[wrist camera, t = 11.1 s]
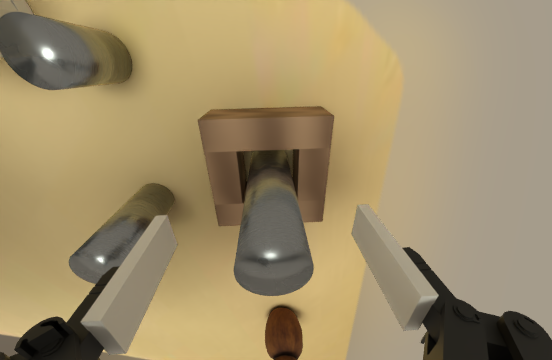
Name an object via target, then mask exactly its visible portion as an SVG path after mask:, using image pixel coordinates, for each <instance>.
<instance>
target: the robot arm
mask: <svg viewBox="0 0 552 360" xmlns="http://www.w3.org/2000/svg"><path fill="white" fill-rule="evenodd" d="M352 236H353V238H354V240H355V242H356V243H357V245H358V247H359V249H360V251H361V253H362V255H363V257H364V258H365V260H366V262H367V264H368V266H369V268H370V270H371V271H372V273H373V275H374V277H375V279H376V281H377V283H378V285H379V286H380V288H381V290H382V292H383V294H384V296H385V297H386V299H387V301H388V303H389V305H390V307H391V309H392V311H393V312H394V314H395V316H396V318H397V320H398V322H399V324H400V326H401V327H402V329H403V331H406V330H418V329H419V328H420V326H421V324H422V323H423V324H424V326H425V327H426V329H427V332H426V333H425V335H424V337H423V338H422V340H421V343H422V344H424V342H425V346H424V355H423V360H552V340H551V338H550V337H549V335H548V334H547V333H546V331H545V330H544V329H543V328H542V327H541V326H540V325H539V324H537V323H536V322H535V321H534V320H532V319H530V318H529V317H527V316H525V315H523V314H520V313H518V312H513V311H508V312H505V313H504V314H503V315H502V316H501V317H499V316H495V315H491V314H486V313H482V312H479V311H477V310H476V309H475V308H473V307H472V306H471V305H470V304H468V303H466V302H464V301H462V300H459V299H456V298H455V297H454V295H453V294H452V293H451V292H450V291H449V289H448V288H447V287H446V286H445V285H444V284H443V282H442V281H441V280H440V279H439V278H438V277H437V275H436V274H435V273H434V272H433V271H432V270H431V268H430V267H429V266H428V265H427V264H426V262H425V261H424V260H423V259H422V257H421V256H420V255H419V254H418V253H417V252H415V251H413V249H411V248H410V247H407V248H402V247H401V246H400V245H399V243H398V242H397V241H396V240H395V238H394V237H393V236H392V235H391V233H390V232H389V230H388V229H387V228H386V227H385V225H384V224H383V223H382V221H381V220H380V219H379V218H378V216H377V215H376V214H375V212H374V211H373V210H372V208H371V207H370V206H369V205H368V204H364V205H357V210H356V215H355V220H354V225H353V229H352ZM177 245H178V244H177V242H176V239H175V236H174V233H173V230H172V227H171V224H170V221H169V218H168V215H160V216H155V218H154V219H153V220H152V222H151V223H150V225H149V226H148V227H147V229H146V230H145V232H144V233H143V234H142V236H141V237H140V239H139V240H138V242H137V243H136V244H135V246H134V247H133V249H132V250H131V251H130V253H129V254H128V256H127V257H126V258H125V260H124V261H123V263H122V264H121V266H117V267H112V268H111V269H110V270H108V271H107V272H106V273H105V274H104V275H102V277H101V278H100V279H99V281H98V282H97V283H96V285H95V287H93V289H92V290H91V291H90V293H89V295H87V296H86V298H85V299H84V300H83V302H82V303H81V304H80V306H79V307H78V308H77V310H76V311H75V312H74V314H73V315H72V316H71V317H70V319H69V320H68V321H67V323H66V322H65V321H64V320H63V319H62V318H60V317H52V318H48V319H46V320H43V321H41V322H39V323H38V324H36V325H35V326H33V327H32V328H31V329H29V330H28V331H27V332H26V333H25V334H24V335H23V336H22V337H21V338H20V340H19V341H18V342H17V344H16V347H15V349H14V350H15V351H16V352H18V354H16V355H13V356H10V357H8V356H7V355H6V354H4V353H2V352H0V360H100V358H99V356H100V355H101V353H102V351H103V349H104V350H105V351H106V352H107V353H108V354H109V355H113V354H125V353H127V351H128V349H129V347H130V345H131V342H132V340H133V338H134V336H135V334H136V332H137V330H138V328H139V325H140V323H141V321H142V319H143V317H144V315H145V313H146V311H147V308H148V306H149V304H150V302H151V300H152V298H153V296H154V294H155V291H156V289H157V287H158V285H159V283H160V281H161V279H162V277H163V274H164V272H165V270H166V268H167V266H168V264H169V262H170V260H171V257H172V255H173V253H174V251H175V249H176V247H177Z"/></svg>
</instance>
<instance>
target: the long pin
mask: <svg viewBox="0 0 552 360" xmlns="http://www.w3.org/2000/svg"><path fill="white" fill-rule="evenodd" d="M312 274H313V261H312V257H311V253H310V249H309V245H308V241H307V237H306V233H305V229H304V224H303V220H302V216H301V212H300V208H299V204H298V200H297V196H296V192H295V187H294V183H293V179H292V175H291V171H290V167H289V163H288V159H287V155H286V152H285V150H259V151H253V152H252V156H251V162H250V169H249V175H248V181H247V188H246V194H245V201H244V207H243V214H242V220H241V227H240V233H239V239H238V246H237V252H236V259H235V265H234V275H235V278H236V280H237V282H238V283H239V284H240V285H241V286H242V287H243V288H245V289H246V290H248V291H250V292H252V293H255V294H259V295H264V296H279V295H285V294H288V293H291V292H294V291H296V290H298V289H300V288H301V287H303V286H304V285H305V284H306V283H307V282H308V281H309V280H310V278H311V276H312Z"/></svg>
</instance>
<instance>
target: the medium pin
mask: <svg viewBox="0 0 552 360" xmlns="http://www.w3.org/2000/svg"><path fill="white" fill-rule="evenodd" d="M173 204H174V197H173V195H172V193H171V192H170V191H169V190H168V189H167V188H166V187H164V186H162V185H159V184H147V185H145V186H143V187H142V188H141V189H140V190H139V191H138V192H137V193H136V194H135V195H134V196H133V197H132V198H130V199H129V200H128V201H127V202H126V203H125V204H124V205H123V206H122V207H121V208H120V209H119V210H118V211H117V212H116V213H115V214H114V215H113V216H112V217H111V218H110V219H109V220H108V221H107V222H106V223H105V224H104V225H103V226H102V227H101V228H100V229H99V230H97V231H96V232H95V233H94V234H93V235H92V236H91V237H90V238H89V239H88V240H87V241H86V242H85V243H84V244H83V245H82V246H81V247H80V248H79V249H78V250H77V251H76V252H75V253H74V254H73V255H72V256H71V257H70V259H69V266H70V268H71V270H72V271H73V272H74V273H75V274H76V275H77V276H79V277H80V278H82V279H84V280H86V281H88V282H91V283H94V284H96V283H97V282H98V281H99V279H100V278H101V277H102V275H104V274H105V273H106V272H107V271H108V270H110V269H111V268H112V267H117V266H121V264H122V263H123V261H124V260H125V258H126V257H127V256H128V254H129V253H130V251H131V250H132V249H133V247H134V246H135V244H136V243H137V242H138V240H139V239H140V237H141V236H142V234H143V233H144V232H145V230H146V229H147V227H148V226H149V225H150V223H151V222H152V220H153V219H154V218H155V216H160V215H167V214H168V212H169V211H170V209H171V208H172V206H173Z"/></svg>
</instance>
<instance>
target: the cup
mask: <svg viewBox="0 0 552 360" xmlns="http://www.w3.org/2000/svg"><path fill="white" fill-rule="evenodd" d="M9 12H23V13H28V14H32V15H34V14H33V12H32V10H31V9H30V7H29V5H28V4H27V2H26V1H25V0H0V18H1V17H2V16H3V15H4V14H6V13H9ZM0 57H3V56H2V54H1V52H0Z"/></svg>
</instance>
